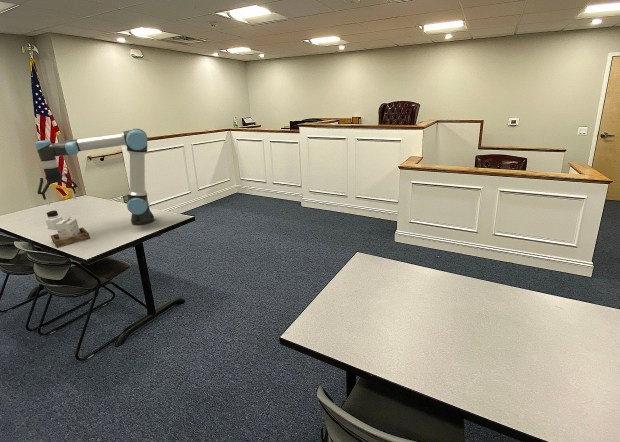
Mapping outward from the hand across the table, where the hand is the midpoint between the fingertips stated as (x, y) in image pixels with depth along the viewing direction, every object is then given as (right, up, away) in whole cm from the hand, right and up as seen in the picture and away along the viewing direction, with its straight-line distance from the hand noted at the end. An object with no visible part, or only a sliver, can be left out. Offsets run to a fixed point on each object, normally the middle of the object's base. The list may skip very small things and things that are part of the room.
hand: (61, 201), depth 213 cm
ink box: (+1, -23, +7) cm, 24 cm away
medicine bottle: (-26, -17, +32) cm, 44 cm away
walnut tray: (+1, -24, +7) cm, 25 cm away
